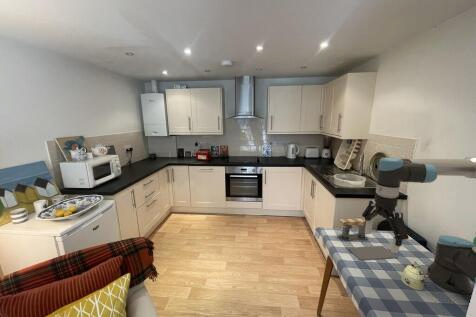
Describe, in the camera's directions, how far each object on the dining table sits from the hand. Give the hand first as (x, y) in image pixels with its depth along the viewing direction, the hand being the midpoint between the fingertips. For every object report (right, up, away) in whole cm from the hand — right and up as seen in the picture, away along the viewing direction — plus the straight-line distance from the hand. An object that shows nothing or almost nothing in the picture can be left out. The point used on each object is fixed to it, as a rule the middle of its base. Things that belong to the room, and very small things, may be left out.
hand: (380, 242), depth 84 cm
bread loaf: (+18, -10, +49) cm, 53 cm away
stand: (+18, -19, +50) cm, 56 cm away
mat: (+20, -21, +34) cm, 45 cm away
